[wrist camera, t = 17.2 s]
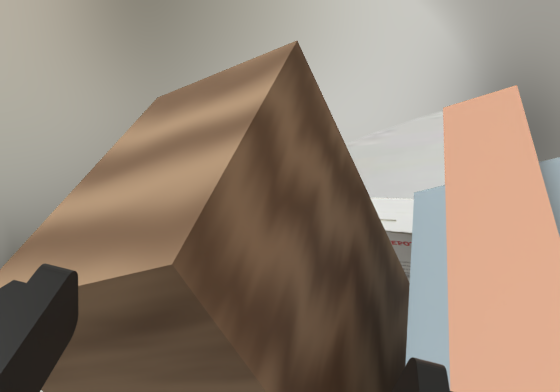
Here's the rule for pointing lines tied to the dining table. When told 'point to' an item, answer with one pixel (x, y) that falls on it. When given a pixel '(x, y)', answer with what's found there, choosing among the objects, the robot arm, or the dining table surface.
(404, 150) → the dining table surface
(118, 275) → the plinth
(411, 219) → the ink box
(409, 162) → the dining table surface
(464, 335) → the bar
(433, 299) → the grey foam block
